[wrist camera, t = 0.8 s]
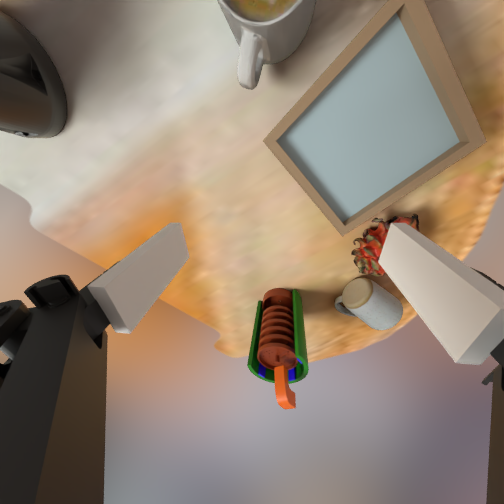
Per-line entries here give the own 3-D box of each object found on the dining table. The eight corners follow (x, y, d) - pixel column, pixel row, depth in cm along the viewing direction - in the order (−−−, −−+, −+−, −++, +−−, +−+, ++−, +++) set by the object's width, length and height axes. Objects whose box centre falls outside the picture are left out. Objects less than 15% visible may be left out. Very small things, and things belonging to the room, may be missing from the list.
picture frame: (265, 140, 30) (262, 140, 25) (384, 9, 22) (412, -27, 17) (334, 223, 34) (342, 236, 30) (450, 141, 27) (486, 141, 22)
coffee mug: (252, -90, 20) (228, -267, 11) (334, -30, 21) (369, -147, 12) (208, 70, 26) (173, 38, 18) (272, 109, 28) (267, 96, 19)
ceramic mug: (363, 268, 38) (379, 295, 32) (392, 288, 40) (412, 318, 33) (324, 297, 44) (330, 326, 37) (350, 314, 45) (361, 345, 39)
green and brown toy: (285, 280, 42) (287, 375, 25) (310, 303, 45) (327, 405, 28) (253, 300, 47) (235, 393, 30) (277, 321, 49) (274, 418, 32)
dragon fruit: (343, 256, 39) (388, 205, 35) (382, 286, 36) (438, 233, 31) (334, 259, 32) (390, 195, 28) (383, 296, 29) (455, 229, 24)
